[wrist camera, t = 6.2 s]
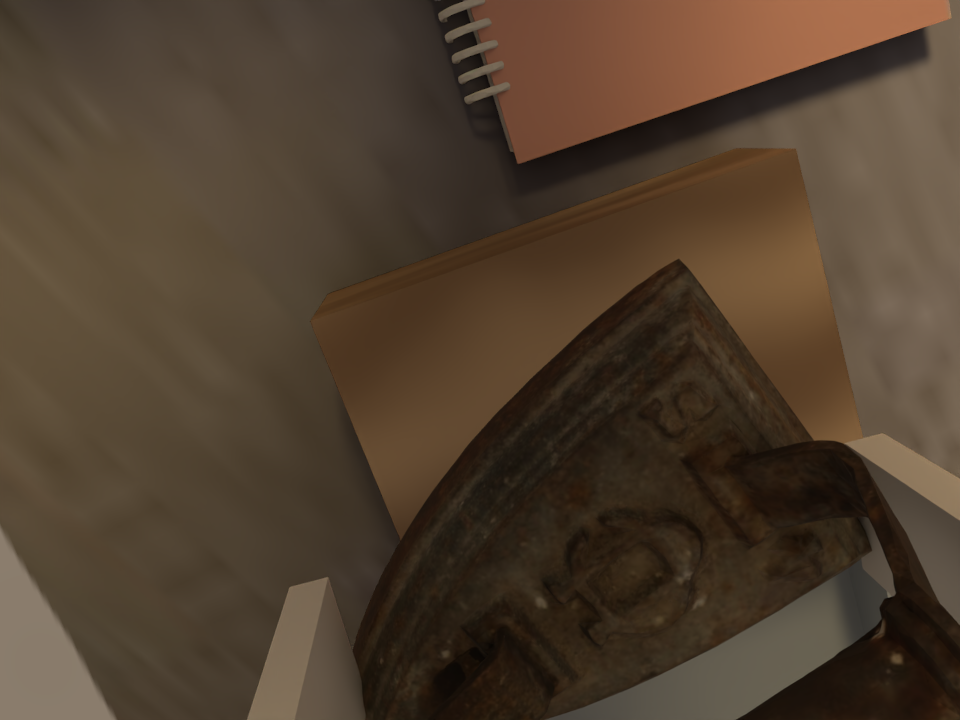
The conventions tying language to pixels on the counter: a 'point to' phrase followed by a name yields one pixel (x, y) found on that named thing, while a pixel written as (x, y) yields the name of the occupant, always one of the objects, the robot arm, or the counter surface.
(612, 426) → the clothes iron
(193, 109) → the counter surface
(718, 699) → the bin
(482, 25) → the notebook
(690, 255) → the walnut stand
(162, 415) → the counter surface
